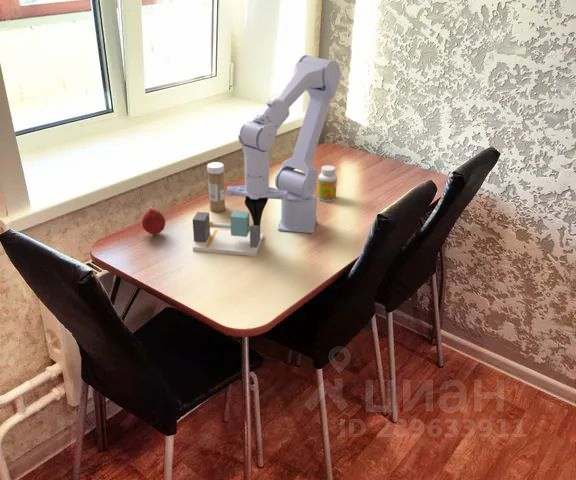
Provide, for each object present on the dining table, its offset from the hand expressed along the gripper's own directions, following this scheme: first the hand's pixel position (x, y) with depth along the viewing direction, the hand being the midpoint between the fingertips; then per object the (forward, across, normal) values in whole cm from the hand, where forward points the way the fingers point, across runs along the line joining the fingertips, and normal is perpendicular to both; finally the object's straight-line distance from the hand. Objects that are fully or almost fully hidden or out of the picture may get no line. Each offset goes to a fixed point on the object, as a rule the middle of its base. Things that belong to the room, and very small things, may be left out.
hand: (257, 223), depth 143 cm
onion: (+7, -27, +1) cm, 28 cm away
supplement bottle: (+7, +15, +32) cm, 36 cm away
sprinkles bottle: (+7, -15, +19) cm, 25 cm away
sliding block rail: (+6, -7, 0) cm, 10 cm away
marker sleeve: (+3, -4, 0) cm, 5 cm away
